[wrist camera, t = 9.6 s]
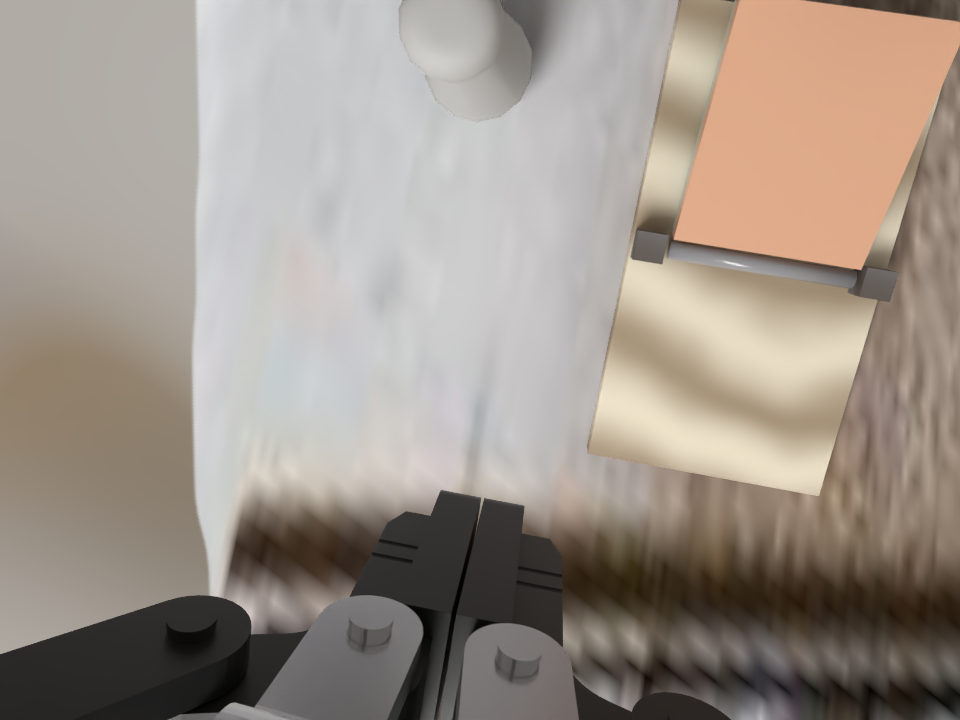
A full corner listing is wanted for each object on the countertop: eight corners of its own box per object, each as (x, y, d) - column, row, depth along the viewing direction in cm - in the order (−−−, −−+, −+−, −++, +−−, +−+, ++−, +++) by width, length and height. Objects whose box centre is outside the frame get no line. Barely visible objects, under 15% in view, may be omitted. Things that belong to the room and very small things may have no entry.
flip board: (678, 0, 38) (688, -14, 35) (945, 37, 37) (976, 25, 34) (587, 446, 44) (589, 463, 41) (811, 487, 43) (828, 507, 40)
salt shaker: (493, -7, 39) (462, -102, 26) (554, 80, 39) (552, 28, 27) (411, 63, 40) (345, 6, 27) (472, 146, 41) (434, 127, 28)
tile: (667, 261, 39) (665, 252, 40) (851, 291, 38) (844, 282, 39) (741, -8, 32) (737, -10, 33) (969, 23, 31) (956, 20, 32)
